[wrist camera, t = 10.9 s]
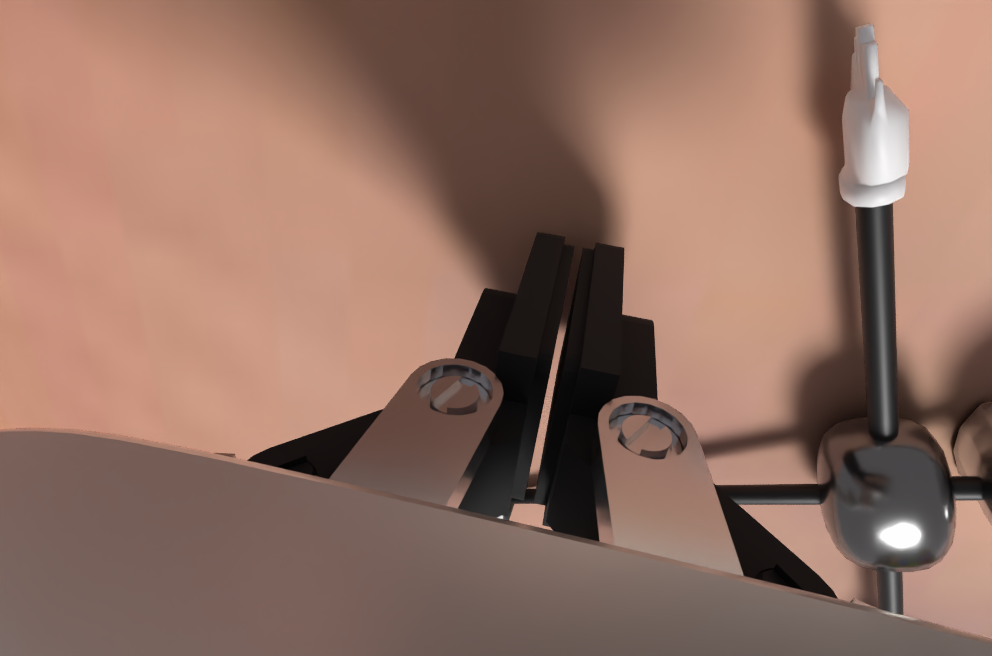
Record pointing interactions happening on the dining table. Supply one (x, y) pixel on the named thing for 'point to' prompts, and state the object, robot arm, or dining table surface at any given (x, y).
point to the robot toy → (881, 381)
